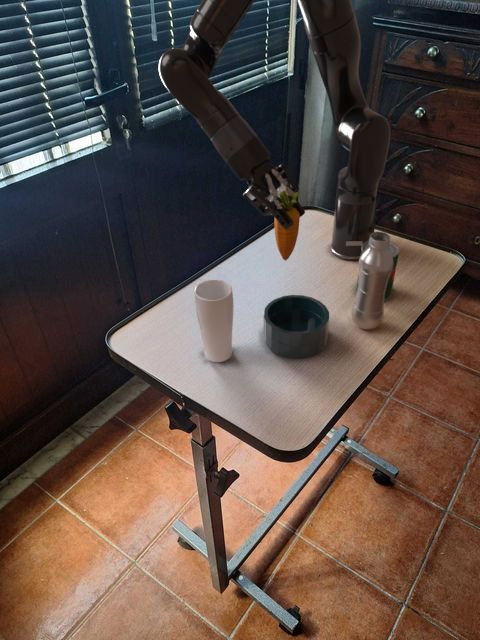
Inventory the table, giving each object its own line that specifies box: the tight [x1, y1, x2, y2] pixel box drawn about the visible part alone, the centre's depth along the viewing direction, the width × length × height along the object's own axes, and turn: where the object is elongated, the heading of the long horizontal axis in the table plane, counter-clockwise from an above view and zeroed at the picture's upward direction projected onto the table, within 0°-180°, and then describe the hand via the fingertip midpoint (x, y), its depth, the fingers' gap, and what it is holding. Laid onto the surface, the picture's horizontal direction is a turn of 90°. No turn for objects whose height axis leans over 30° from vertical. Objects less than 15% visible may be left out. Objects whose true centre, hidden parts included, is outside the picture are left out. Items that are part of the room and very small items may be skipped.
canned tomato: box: [355, 241, 400, 302], centre depth 112 cm, size 8×8×11 cm
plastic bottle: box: [351, 231, 393, 330], centre depth 100 cm, size 6×7×20 cm
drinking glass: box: [193, 279, 235, 363], centre depth 95 cm, size 7×7×15 cm
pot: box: [263, 294, 330, 359], centre depth 101 cm, size 13×13×6 cm
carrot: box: [273, 191, 301, 261], centre depth 102 cm, size 5×5×15 cm
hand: (295, 220), depth 100 cm, fingers closed on carrot, 4 cm apart
